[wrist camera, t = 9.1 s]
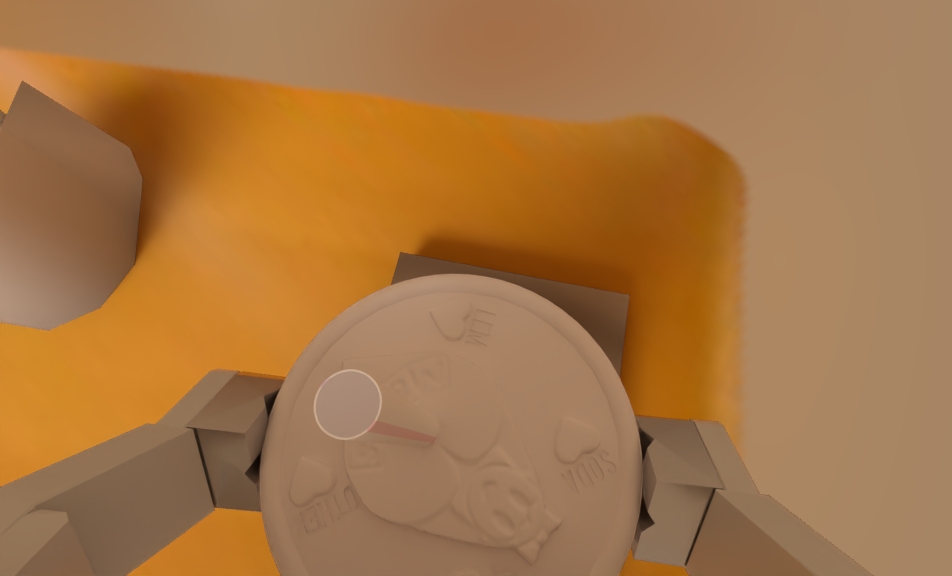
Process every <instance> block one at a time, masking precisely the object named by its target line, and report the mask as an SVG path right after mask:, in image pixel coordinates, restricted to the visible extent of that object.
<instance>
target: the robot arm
mask: <svg viewBox="0 0 952 576" xmlns="http://www.w3.org/2000/svg"><path fill="white" fill-rule="evenodd" d="M285 379H286V377H282V376H274V375H266V374H259V373H251V372H240V371H233V370H225V369H216V370H212V371H210V372H209V373H208V374H207V375H206V376H205V377H204V378H203V379H202V380H201V381H200V382H199V383H197V384H196V385H195V386H194V387H193V388H192V389H191V390H190V391H189V392H188V393H187V394H186V395H185V396H184V397H183V398H182V399H181V400H180V401H179V402H178V403H177V404H176V405H175V406H174V407H173V408H172V409H171V410H170V411H169V412H168V413H167V414H166V415H165V416H164V417H163V418H162V419H161V420H159V421H158V422H157V423H156V424H145V425H143V426H140V427H138V428H136V429H133V430H131V431H129V432H126V433H124V434H122V435H120V436H117V437H115V438H113V439H110V440H108V441H106V442H103V443H101V444H99V445H96V446H94V447H92V448H89V449H87V450H85V451H82V452H80V453H78V454H76V455H73V456H71V457H69V458H66V459H64V460H62V461H59V462H57V463H55V464H52V465H50V466H48V467H45V468H43V469H41V470H38V471H36V472H34V473H32V474H29V475H27V476H25V477H22V478H20V479H18V480H15V481H13V482H11V483H8V484H6V485H4V486H1V487H0V576H126V575H128V574H129V573H130V572H132V571H133V570H134V569H136V568H137V567H138V566H140V565H141V564H143V563H144V562H145V561H147V560H148V559H149V558H151V557H152V556H153V555H155V554H156V553H157V552H159V551H160V550H162V549H163V548H164V547H166V546H167V545H168V544H170V543H171V542H172V541H174V540H175V539H176V538H178V537H179V536H180V535H182V534H183V533H185V532H186V531H187V530H189V529H190V528H191V527H193V526H194V525H195V524H197V523H198V522H199V521H201V520H202V519H203V518H205V517H206V516H208V515H209V514H210V513H212V512H213V511H214V510H215V509H214V507H215V508H225V509H236V510H246V511H256V512H261V501H260V463H261V453H262V449H263V445H264V440H265V434H266V430H267V427H268V423H269V421H268V420H269V417H270V413H271V411H272V408H273V405H274V403H275V400H276V398H277V395H278V393H279V391H280V389H281V387H282V385H283V383H284V381H285ZM634 416H635V420H636V424H637V428H638V432H639V438H640V444H641V451H642V466H643V483H642V498H641V506H640V513H639V518H638V522H637V527H636V531H635V535H634V538H633V541H632V544H631V549H632V553H633V558H634V559H636V560H642V561H649V562H655V563H662V564H668V565H674V566H681V567H686V569H685V570H686V571H687V573H688V574H689V575H690V576H873V575H872V574H871V573H869V572H868V571H867V570H866V569H864V568H863V567H862V566H860V565H859V564H858V563H856V562H855V561H854V560H853V559H851V558H850V557H849V556H847V555H846V554H845V553H843V552H842V551H841V550H840V549H838V548H837V547H836V546H834V545H833V544H832V543H831V542H829V541H828V540H827V539H825V538H824V537H823V536H821V535H820V534H819V533H818V532H816V531H815V530H814V529H812V528H811V527H810V526H808V525H807V524H806V523H805V522H803V521H802V520H801V519H799V518H798V517H797V516H796V515H794V514H793V513H792V512H790V511H789V510H788V509H786V508H785V507H784V506H783V505H781V504H780V503H779V502H777V501H776V500H775V499H773V498H772V497H771V496H769V495H762V494H760V493H759V491H758V489H757V488H756V486H755V484H754V482H753V480H752V478H751V476H750V474H749V473H748V471H747V469H746V467H745V465H744V463H743V461H742V459H741V458H740V456H739V454H738V452H737V450H736V448H735V446H734V445H733V443H732V441H731V439H730V437H729V435H728V433H727V432H726V430H725V428H724V426H723V425H722V424H721V423H719V422H718V421H706V420H693V419H689V420H685V419H675V418H665V417H655V416H645V415H635V414H634Z"/></svg>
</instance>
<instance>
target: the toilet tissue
mask: <svg viewBox="0 0 952 576" xmlns="http://www.w3.org/2000/svg"><path fill="white" fill-rule="evenodd" d="M142 183H143V179H142V176H141V174H140V171H139V169H138V166H137V164H136V161H135V159H134V156H133V154H132V152H131V149H130V148H129V147H128V146H126V145H125V144H123V143H121V142H120V141H118V140H117V139H115V138H113V137H112V136H110V135H109V134H107V133H105V132H104V131H102V130H101V129H99V128H97V127H96V126H94V125H93V124H91V123H89V122H88V121H86V120H85V119H83V118H81V117H80V116H78V115H77V114H75V113H73V112H72V111H70V110H69V109H67V108H65V107H64V106H62V105H61V104H59V103H57V102H56V101H54V100H52V99H51V98H49V97H48V96H46V95H44V94H43V93H41V92H40V91H38V90H36V89H35V88H33V87H32V86H30V85H28V84H27V83H25V82H24V81H22V82H21V84H20V86H19V89H18V91H17V93H16V95H15V97H14V100H13V102H12V104H11V106H10V108H9V111H8V113H7V115H6V114H5V113H3V112H2V111H1V110H0V322H1V323H7V324H13V325H18V326H24V327H30V328H36V329H42V330H48V331H49V330H51V329H53V328H56V327H58V326H60V325H62V324H65V323H67V322H69V321H71V320H74V319H76V318H78V317H80V316H83V315H85V314H87V313H90V312H92V311H94V310H96V309H99V308H101V306H102V305H103V304H104V303H105V301H106V300H107V299H108V298H109V296H110V295H111V294H112V293H113V291H114V290H115V289H116V288H117V286H118V285H119V284H120V283H121V281H122V280H123V279H124V277H125V276H126V275H127V274H128V272H129V271H130V270H131V269H132V267H133V266H134V265H135V257H136V247H137V236H138V225H139V215H140V204H141V193H142Z"/></svg>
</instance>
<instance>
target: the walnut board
mask: <svg viewBox="0 0 952 576" xmlns="http://www.w3.org/2000/svg"><path fill="white" fill-rule="evenodd" d="M440 274H470V275H478V276H485V277H490V278H494V279H499V280H503V281H506V282H509V283H512V284H515V285H518V286H520V287H523V288H525V289H527V290H530V291H532V292H534V293H536V294H538V295H540V296H541V297H543V298H545V299H547V300H549V301H550V302H552V303H553V304H555V305H556V306H558V307H559V308H560V309H562V310H563V311H565V312H566V313H567V314H568V315H569V316H571V317H572V318H573V319H574V320H576V321H577V322H578V323H579V324H580V325H581V326H582V327H583V328H584V329H585V330H586V331H587V332H588V333H589V334H590V336H591V337H592V338H593V339H594V340H595V341H596V343H597V344H598V345H599V346H600V347H601V349H602V350H603V352H604V353H605V355H606V356H607V358H608V359H609V360H610V362H611V363H612V365H613V367H614V369H615V371H616V372H617V374H618V376H619V378H620V372H621V364H622V355H623V347H624V338H625V330H626V321H627V313H628V304H629V296H630V295H627V294H622V293H616V292H611V291H606V290H600V289H595V288H590V287H584V286H579V285H574V284H568V283H563V282H558V281H552V280H547V279H541V278H536V277H531V276H525V275H520V274H515V273H509V272H504V271H499V270H493V269H488V268H482V267H477V266H472V265H466V264H461V263H456V262H450V261H445V260H440V259H434V258H429V257H423V256H418V255H413V254H407V253H402V252H400V255H399V259H398V262H397V266H396V269H395V273H394V276H393V280H392V283H391V285H394V284H396V283H399V282H402V281H406V280H410V279H414V278H418V277H424V276H431V275H440Z"/></svg>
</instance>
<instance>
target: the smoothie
mask: <svg viewBox="0 0 952 576" xmlns="http://www.w3.org/2000/svg"><path fill="white" fill-rule="evenodd" d="M268 421H269V423H268V427H267V430H266V434H265V440H264V445H263V449H262V453H261V463H260V501H261V512H262V517H263V523H264V528H265V533H266V536H267V540H268V543H269V547H270V550H271V553H272V556H273V558H274V561H275V563H276V566H277V568H278V571H279V573H280V575H281V576H618V575H619V573H620V571H621V569H622V567H623V565H624V562H625V560H626V558H627V556H628V553H629V550H630V547H631V544H632V541H633V538H634V535H635V531H636V527H637V522H638V518H639V513H640V506H641V498H642V483H643V466H642V451H641V444H640V438H639V432H638V428H637V424H636V420H635V416H634V412H633V409H632V406H631V404H630V401H629V398H628V395H627V393H626V391H625V388H624V386H623V384H622V382H621V380H620V378H619V376H618V374H617V372H616V371H615V369H614V367H613V365H612V363H611V362H610V360H609V359H608V358H607V356H606V355H605V353H604V352H603V350H602V349H601V347H600V346H599V345H598V344H597V343H596V341H595V340H594V339H593V338H592V337H591V336H590V334H589V333H588V332H587V331H586V330H585V329H584V328H583V327H582V326H581V325H580V324H579V323H578V322H577V321H576V320H574V319H573V318H572V317H571V316H569V315H568V314H567V313H566V312H565V311H563V310H562V309H560V308H559V307H558V306H556V305H555V304H553V303H552V302H550V301H549V300H547V299H545V298H543V297H541V296H540V295H538V294H536V293H534V292H532V291H530V290H527V289H525V288H523V287H520V286H518V285H515V284H512V283H509V282H506V281H503V280H499V279H494V278H490V277H485V276H478V275H470V274H440V275H431V276H424V277H418V278H414V279H410V280H406V281H402V282H399V283H396V284H394V285H391V286H388V287H385V288H383V289H381V290H379V291H376V292H374V293H372V294H370V295H368V296H367V297H365V298H363V299H361V300H359V301H358V302H356V303H355V304H353V305H352V306H350V307H349V308H347V309H346V310H344V311H343V312H342V313H341V314H339V315H338V316H337V317H336V318H334V319H333V320H332V321H331V322H330V323H329V324H327V325H326V326H325V327H324V328H323V329H322V330H321V331H320V332H319V333H318V334H317V335H316V336H315V338H314V339H313V340H312V341H311V342H310V343H309V345H308V346H307V347H306V348H305V349H304V351H303V352H302V354H301V355H300V356H299V358H298V359H297V361H296V362H295V363H294V365H293V367H292V368H291V370H290V372H289V373H288V375H287V377H286V379H285V381H284V383H283V385H282V387H281V389H280V391H279V393H278V395H277V398H276V400H275V403H274V405H273V408H272V411H271V413H270V417H269V420H268Z"/></svg>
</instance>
